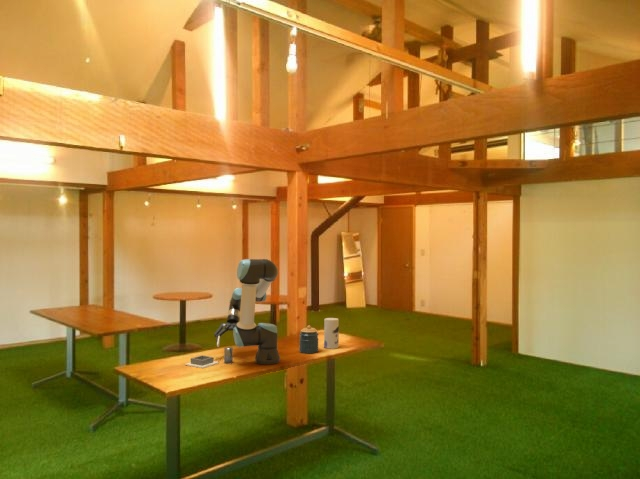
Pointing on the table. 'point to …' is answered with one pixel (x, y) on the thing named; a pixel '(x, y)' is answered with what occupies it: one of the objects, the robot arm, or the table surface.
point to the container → (331, 333)
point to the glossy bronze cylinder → (228, 355)
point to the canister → (308, 340)
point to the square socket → (202, 362)
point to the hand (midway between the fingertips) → (228, 346)
